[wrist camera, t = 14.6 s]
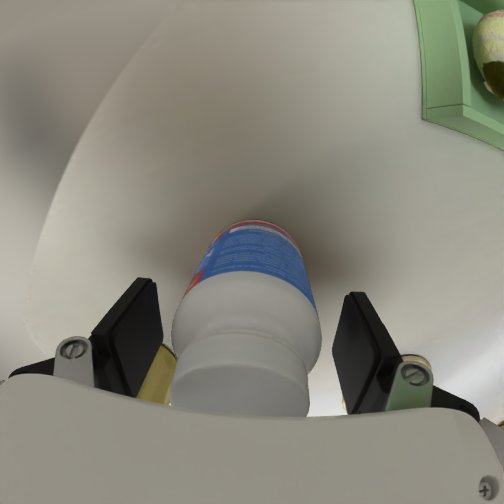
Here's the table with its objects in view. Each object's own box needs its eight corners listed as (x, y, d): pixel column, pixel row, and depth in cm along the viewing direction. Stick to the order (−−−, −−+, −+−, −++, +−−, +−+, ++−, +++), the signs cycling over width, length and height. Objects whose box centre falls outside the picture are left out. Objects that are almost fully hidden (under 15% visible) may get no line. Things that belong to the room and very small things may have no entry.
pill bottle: (206, 215, 15) (124, 321, 6) (306, 221, 15) (362, 338, 6) (208, 302, 17) (162, 440, 8) (296, 308, 17) (315, 452, 8)
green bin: (407, -26, 8) (433, -51, 4) (516, 37, 8) (546, 31, 4) (421, 119, 12) (463, 116, 8) (526, 162, 12) (561, 171, 8)
